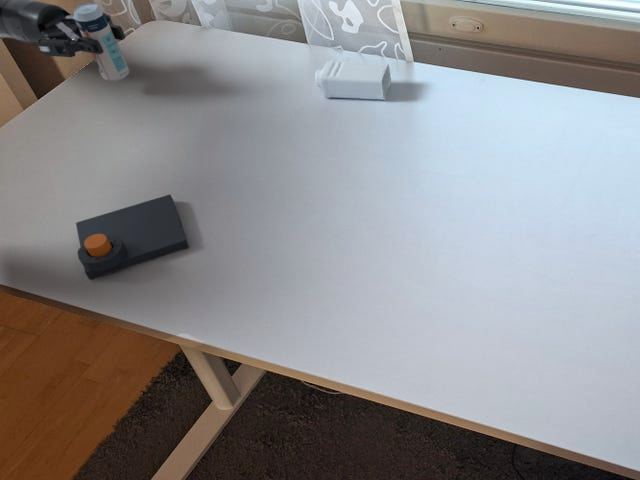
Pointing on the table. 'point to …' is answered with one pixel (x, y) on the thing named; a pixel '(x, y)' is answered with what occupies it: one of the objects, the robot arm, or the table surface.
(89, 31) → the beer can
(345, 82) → the white bottle
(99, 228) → the scale
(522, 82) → the table surface
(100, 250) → the button
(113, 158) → the table surface
